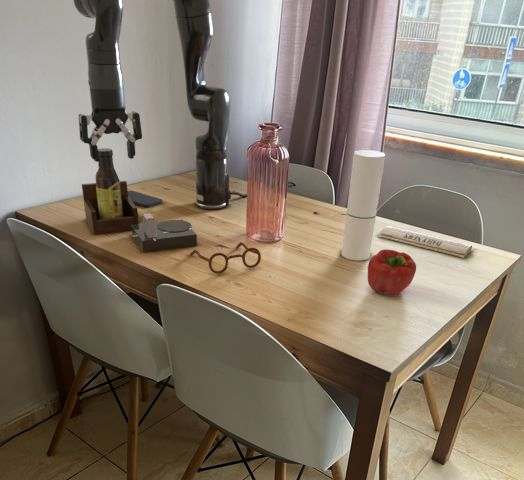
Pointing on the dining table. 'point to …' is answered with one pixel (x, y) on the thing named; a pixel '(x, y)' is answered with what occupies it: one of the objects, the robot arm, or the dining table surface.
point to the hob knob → (149, 225)
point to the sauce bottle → (108, 186)
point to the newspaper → (426, 241)
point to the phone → (143, 199)
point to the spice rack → (113, 223)
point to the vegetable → (390, 272)
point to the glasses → (230, 257)
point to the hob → (162, 238)
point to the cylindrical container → (362, 204)
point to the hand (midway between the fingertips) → (113, 159)
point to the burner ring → (174, 225)
